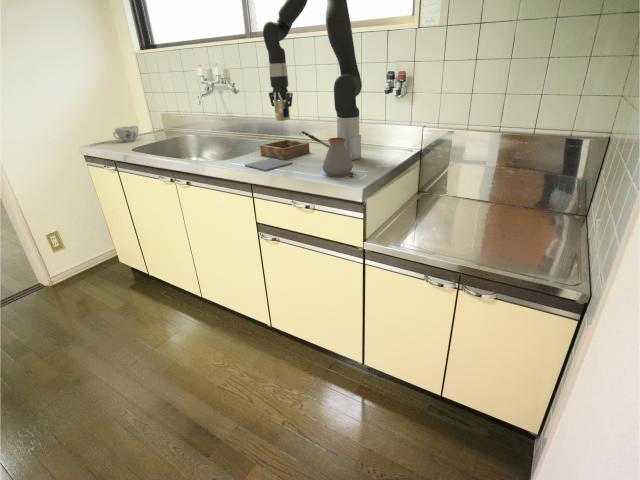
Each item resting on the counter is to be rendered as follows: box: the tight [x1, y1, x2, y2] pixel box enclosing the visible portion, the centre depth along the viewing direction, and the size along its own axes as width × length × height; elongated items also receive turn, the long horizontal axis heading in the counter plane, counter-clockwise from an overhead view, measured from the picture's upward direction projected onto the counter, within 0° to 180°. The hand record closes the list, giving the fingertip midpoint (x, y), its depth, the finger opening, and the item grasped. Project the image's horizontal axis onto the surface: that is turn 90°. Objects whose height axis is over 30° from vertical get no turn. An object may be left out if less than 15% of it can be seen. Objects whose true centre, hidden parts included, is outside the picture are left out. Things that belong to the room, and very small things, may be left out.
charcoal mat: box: [244, 157, 293, 172], centre depth 158 cm, size 14×14×1 cm
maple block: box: [273, 100, 291, 122], centre depth 168 cm, size 4×4×8 cm
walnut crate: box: [259, 138, 310, 161], centre depth 175 cm, size 16×16×4 cm
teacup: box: [112, 125, 139, 143], centre depth 222 cm, size 15×12×8 cm
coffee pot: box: [299, 130, 354, 178], centre depth 141 cm, size 21×12×15 cm, turn 59°
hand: (282, 116), depth 169 cm, fingers closed on maple block, 4 cm apart
